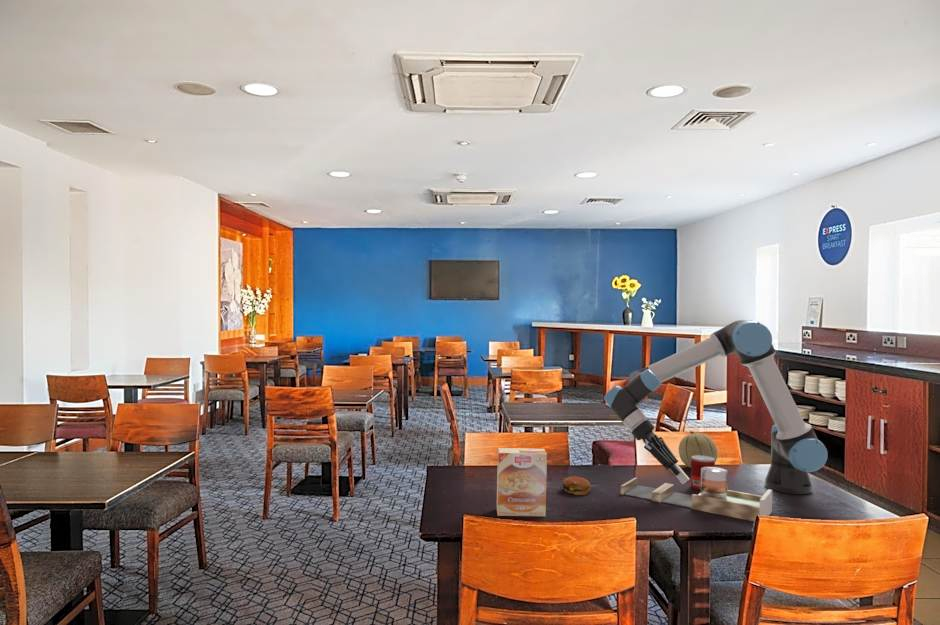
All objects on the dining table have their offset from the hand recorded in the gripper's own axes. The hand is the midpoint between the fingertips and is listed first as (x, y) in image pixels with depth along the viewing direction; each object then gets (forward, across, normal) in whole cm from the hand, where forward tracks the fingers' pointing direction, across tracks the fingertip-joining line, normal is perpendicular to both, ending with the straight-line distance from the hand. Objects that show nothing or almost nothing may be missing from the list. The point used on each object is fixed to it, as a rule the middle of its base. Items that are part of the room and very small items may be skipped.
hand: (686, 481), depth 206 cm
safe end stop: (+18, 0, +8) cm, 20 cm away
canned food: (+5, -19, -5) cm, 20 cm away
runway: (+7, 0, -3) cm, 7 cm away
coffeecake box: (-21, +44, -31) cm, 58 cm away
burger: (-19, +13, -29) cm, 37 cm away
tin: (+9, 0, +4) cm, 9 cm away
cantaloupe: (-1, -45, -11) cm, 47 cm away
